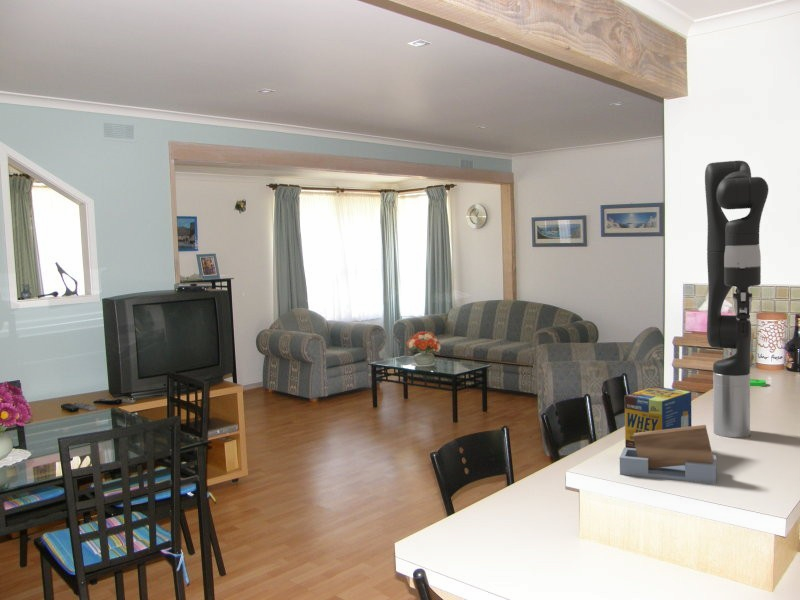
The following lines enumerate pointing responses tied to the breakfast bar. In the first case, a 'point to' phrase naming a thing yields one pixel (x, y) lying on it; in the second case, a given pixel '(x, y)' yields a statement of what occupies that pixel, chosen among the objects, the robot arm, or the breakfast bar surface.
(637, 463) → the grey slotted holder
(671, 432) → the slat
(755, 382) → the mechanical part
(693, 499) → the breakfast bar surface
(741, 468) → the breakfast bar surface
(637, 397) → the protein box
